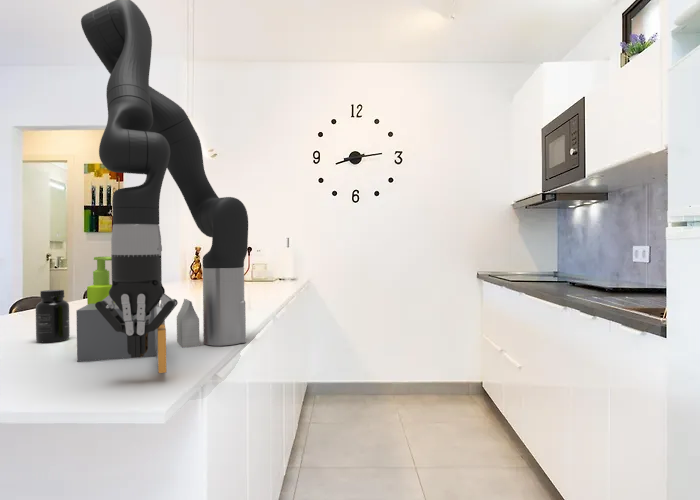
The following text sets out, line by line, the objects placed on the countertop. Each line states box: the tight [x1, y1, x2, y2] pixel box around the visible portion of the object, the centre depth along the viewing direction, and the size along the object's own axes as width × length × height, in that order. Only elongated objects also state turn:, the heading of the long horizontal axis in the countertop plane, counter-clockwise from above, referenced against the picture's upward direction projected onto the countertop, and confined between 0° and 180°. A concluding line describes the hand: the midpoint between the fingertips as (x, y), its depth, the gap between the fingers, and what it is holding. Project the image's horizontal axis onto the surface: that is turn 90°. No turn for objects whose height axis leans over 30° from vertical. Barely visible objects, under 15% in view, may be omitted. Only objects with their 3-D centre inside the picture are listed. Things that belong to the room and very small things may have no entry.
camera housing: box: [75, 301, 160, 363], centre depth 100 cm, size 14×13×11 cm
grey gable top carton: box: [176, 298, 201, 348], centre depth 108 cm, size 4×7×10 cm, turn 30°
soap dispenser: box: [86, 255, 115, 305], centre depth 110 cm, size 6×7×20 cm
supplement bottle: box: [35, 289, 71, 344], centre depth 113 cm, size 7×7×12 cm
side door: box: [156, 305, 167, 374], centre depth 87 cm, size 21×1×10 cm, turn 23°
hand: (138, 356), depth 78 cm, fingers closed
